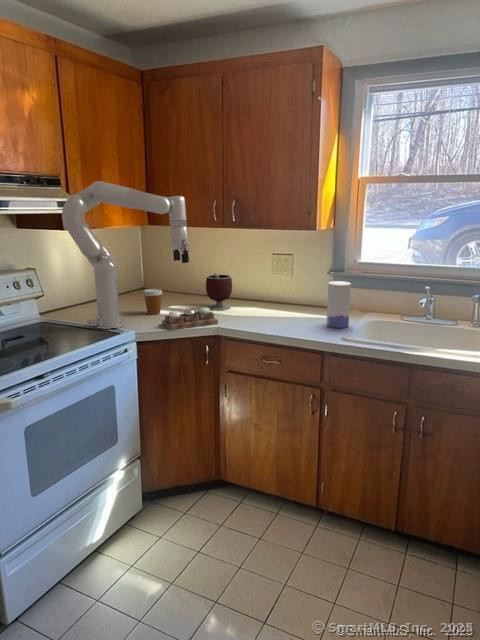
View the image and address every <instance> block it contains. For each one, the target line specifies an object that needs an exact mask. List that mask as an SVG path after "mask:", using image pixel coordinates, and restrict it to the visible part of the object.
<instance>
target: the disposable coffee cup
mask: <svg viewBox="0 0 480 640" xmlns="http://www.w3.org/2000/svg"><path fill="white" fill-rule="evenodd" d="M142 294H143V296H144V301H145V305H146V312H147V315H150V316H154V315H155V316H156V315H160V314H161V308H162V305H161V304H162V295H163V290H162V289H161V288H148V289H147V288H146V289H145V290H144V291H143V293H142Z"/></svg>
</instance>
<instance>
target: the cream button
mask: <svg viewBox="0 0 480 640" xmlns="http://www.w3.org/2000/svg"><path fill="white" fill-rule="evenodd" d="M180 314H181V312H180V311H176V310H175V311H169V312H168V315H169V318H171V319H172V318H180Z"/></svg>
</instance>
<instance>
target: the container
mask: <svg viewBox="0 0 480 640" xmlns="http://www.w3.org/2000/svg"><path fill="white" fill-rule="evenodd" d="M327 286H328V287H327V288H328V289H327V306H326V307H327V309H326V326H328V327H330V328H335V329H344V328H348V327H349V323H350V321H349V320H350V307H351V306H350V305H351V288H352V287H351V286H352V283H351V282H349V281H344V280H343V281H341V280H337V281H336V280H335V281H329V282H328V285H327Z"/></svg>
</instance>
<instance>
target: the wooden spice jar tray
mask: <svg viewBox="0 0 480 640" xmlns="http://www.w3.org/2000/svg"><path fill="white" fill-rule="evenodd" d="M161 322H162V323H161V324H162V325H163V326H164V327H166V328H167V329H169V330H170V331H176V330H183V329H185V330H186V329H191V328H197V327H204V326H206V327H207V326H212V325H218V324H219V322H218V319H217V318H215V313H214V312H211V311H210V314H204V315H201V314H199V311H195V316H188V317H186V316H184V313H180V318H172V319H171V318H169V314H168V315H165V316H164V319H162V320H161Z"/></svg>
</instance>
